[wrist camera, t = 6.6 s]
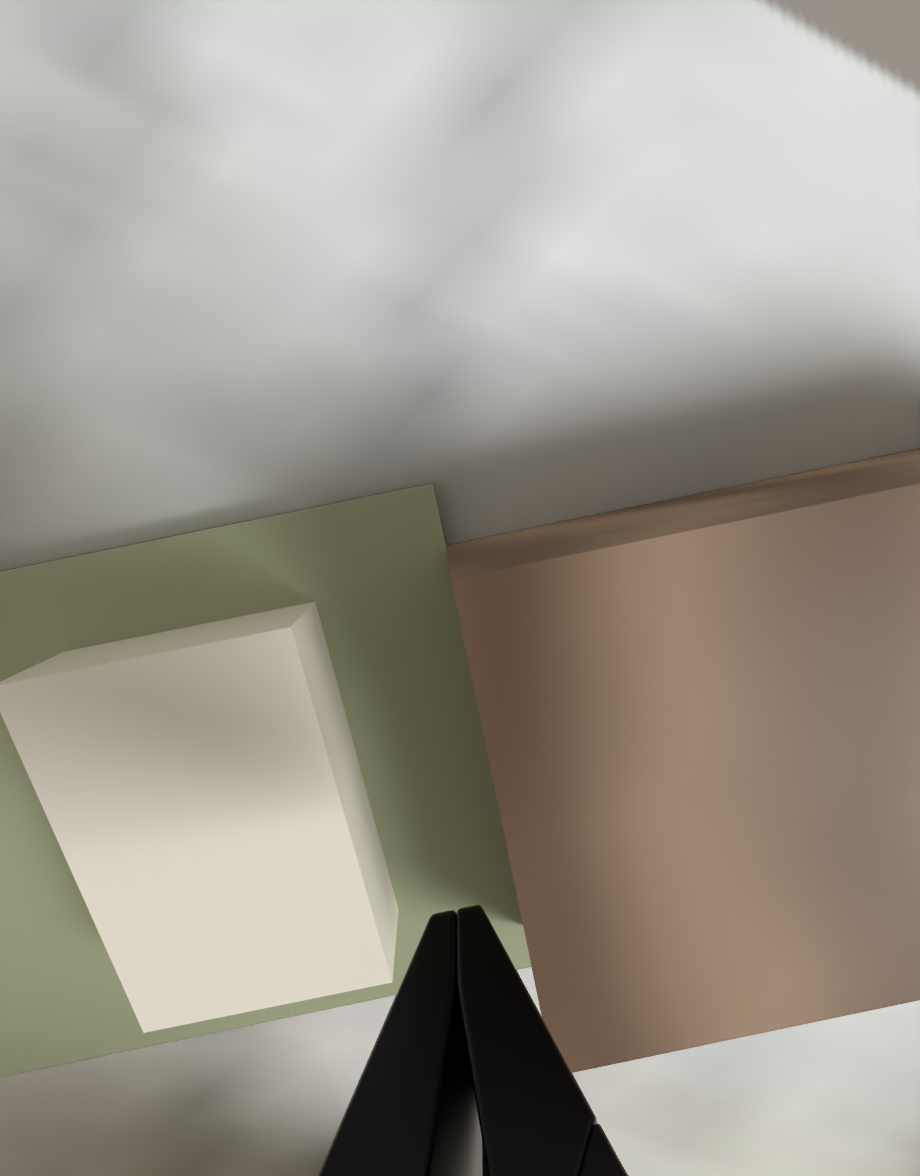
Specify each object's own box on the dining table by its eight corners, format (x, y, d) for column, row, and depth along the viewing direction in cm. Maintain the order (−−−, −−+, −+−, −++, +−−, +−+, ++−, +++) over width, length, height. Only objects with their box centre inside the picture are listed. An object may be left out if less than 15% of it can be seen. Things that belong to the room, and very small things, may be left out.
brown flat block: (522, 912, 14) (554, 1076, 10) (445, 545, 12) (450, 579, 8) (990, 816, 14) (1197, 942, 10) (1013, 429, 12) (1296, 406, 8)
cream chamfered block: (392, 982, 12) (398, 910, 14) (291, 626, 10) (315, 601, 12) (143, 1033, 12) (185, 953, 14) (-12, 687, 10) (64, 651, 12)
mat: (3, 1062, 15) (-9, 1079, 14) (-242, 620, 11) (-266, 625, 11) (530, 953, 15) (532, 966, 14) (433, 483, 11) (432, 482, 11)
